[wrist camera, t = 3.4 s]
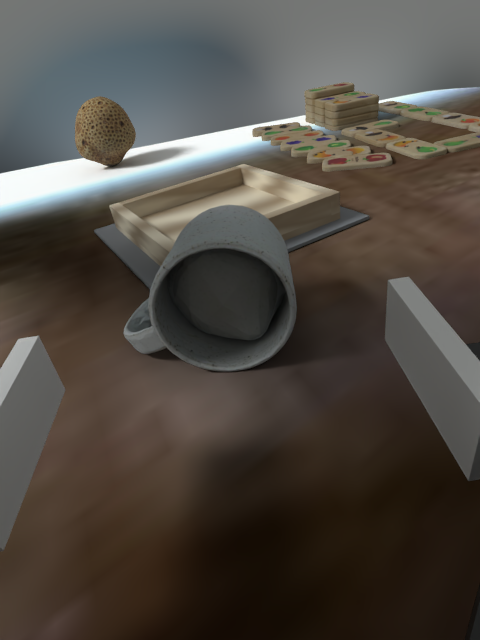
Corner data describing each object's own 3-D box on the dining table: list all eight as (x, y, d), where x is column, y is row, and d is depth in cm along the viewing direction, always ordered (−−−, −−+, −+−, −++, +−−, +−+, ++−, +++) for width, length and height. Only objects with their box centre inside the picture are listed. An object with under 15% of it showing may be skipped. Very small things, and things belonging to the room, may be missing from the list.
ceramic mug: (292, 290, 30) (279, 181, 26) (303, 366, 24) (289, 235, 19) (145, 308, 32) (111, 207, 27) (116, 386, 25) (65, 267, 21)
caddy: (116, 227, 45) (109, 205, 44) (246, 185, 51) (243, 164, 50) (179, 282, 33) (171, 254, 32) (340, 218, 39) (339, 192, 38)
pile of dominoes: (247, 136, 77) (242, 101, 74) (384, 107, 81) (386, 73, 78) (336, 186, 49) (336, 133, 46) (541, 137, 53) (552, 86, 50)
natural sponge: (154, 157, 71) (138, 89, 66) (118, 174, 65) (96, 101, 60) (114, 157, 75) (95, 93, 70) (76, 173, 69) (52, 105, 64)
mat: (94, 232, 46) (93, 230, 45) (254, 180, 53) (253, 178, 53) (163, 303, 31) (162, 300, 31) (369, 218, 39) (369, 215, 38)
